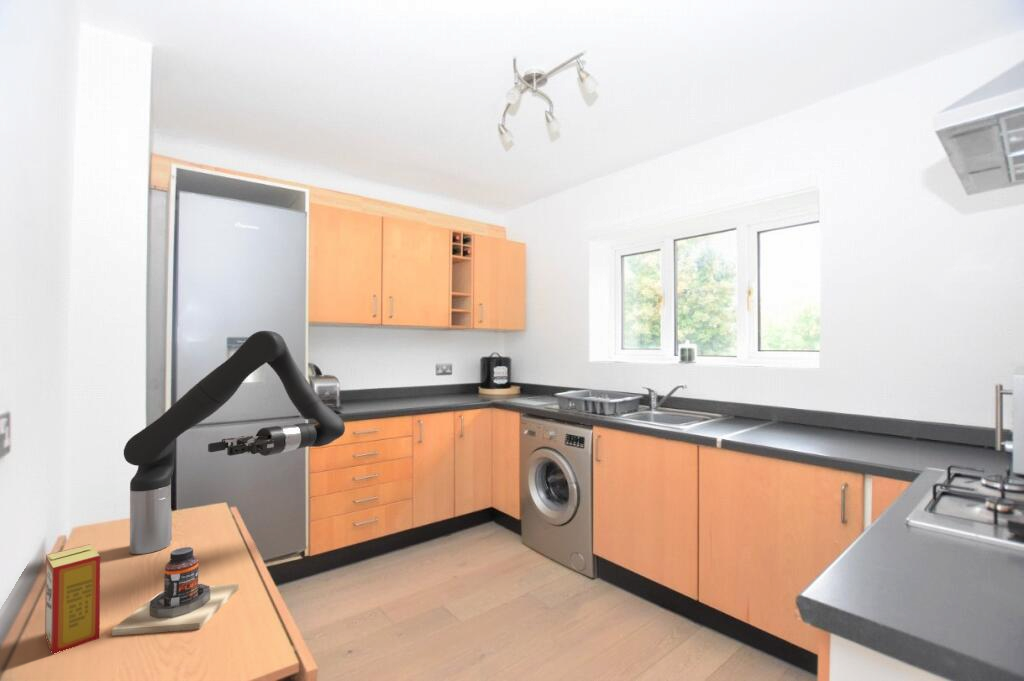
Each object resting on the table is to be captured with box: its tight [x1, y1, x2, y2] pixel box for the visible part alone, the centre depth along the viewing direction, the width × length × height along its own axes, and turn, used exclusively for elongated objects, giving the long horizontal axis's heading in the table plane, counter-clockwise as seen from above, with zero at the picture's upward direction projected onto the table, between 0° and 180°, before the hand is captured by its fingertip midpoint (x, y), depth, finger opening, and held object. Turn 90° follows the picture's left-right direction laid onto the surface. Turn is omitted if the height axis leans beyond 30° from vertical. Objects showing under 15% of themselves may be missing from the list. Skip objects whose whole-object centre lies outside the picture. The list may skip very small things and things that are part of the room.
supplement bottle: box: [163, 546, 199, 606], centre depth 100 cm, size 6×6×11 cm
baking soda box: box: [44, 544, 101, 655], centre depth 91 cm, size 10×6×16 cm
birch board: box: [111, 583, 239, 636], centre depth 100 cm, size 16×16×1 cm
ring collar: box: [150, 583, 211, 619], centre depth 100 cm, size 10×10×2 cm
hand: (218, 449), depth 116 cm, fingers open, 8 cm apart
